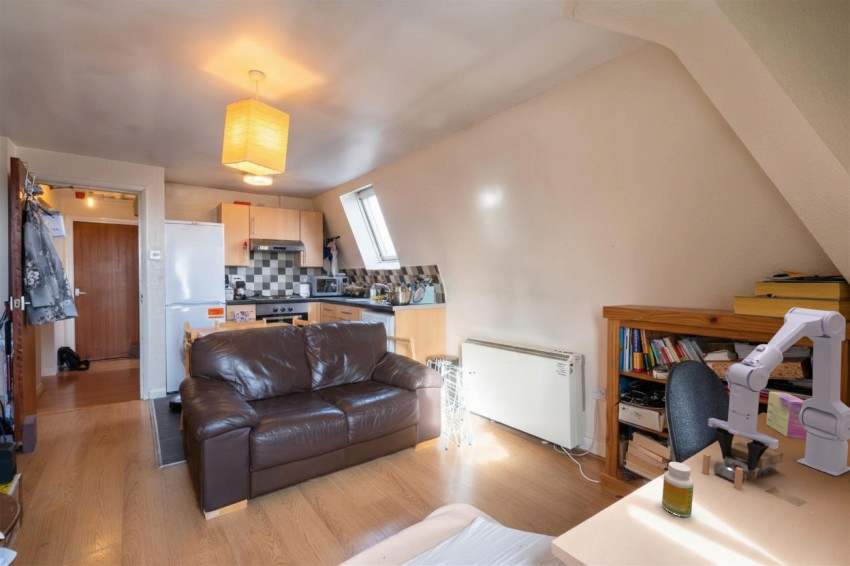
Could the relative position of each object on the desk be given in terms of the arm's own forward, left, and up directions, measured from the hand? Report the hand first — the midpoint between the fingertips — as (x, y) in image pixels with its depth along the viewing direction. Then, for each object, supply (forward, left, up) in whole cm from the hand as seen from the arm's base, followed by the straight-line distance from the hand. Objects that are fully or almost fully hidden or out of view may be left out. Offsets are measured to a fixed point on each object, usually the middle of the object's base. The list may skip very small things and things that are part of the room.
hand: (738, 464), depth 101 cm
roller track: (-4, +5, -3) cm, 7 cm away
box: (-48, -9, -3) cm, 49 cm away
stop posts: (+7, 0, -3) cm, 8 cm away
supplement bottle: (+30, +3, -3) cm, 30 cm away
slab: (-7, 0, 0) cm, 7 cm away
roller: (0, 0, -1) cm, 1 cm away
